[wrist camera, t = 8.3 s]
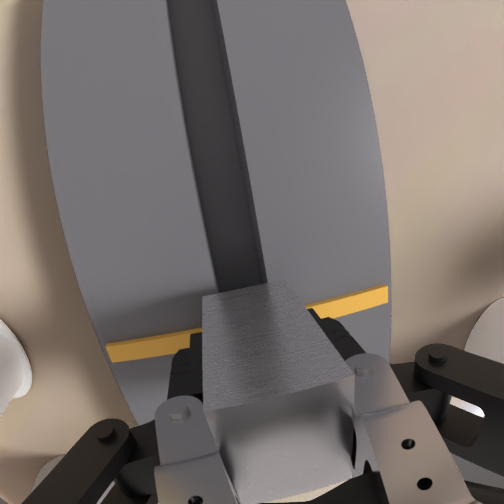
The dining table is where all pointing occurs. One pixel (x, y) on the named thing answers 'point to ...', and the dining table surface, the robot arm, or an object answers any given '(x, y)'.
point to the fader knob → (274, 393)
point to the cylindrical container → (488, 333)
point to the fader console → (212, 169)
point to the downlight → (12, 368)
